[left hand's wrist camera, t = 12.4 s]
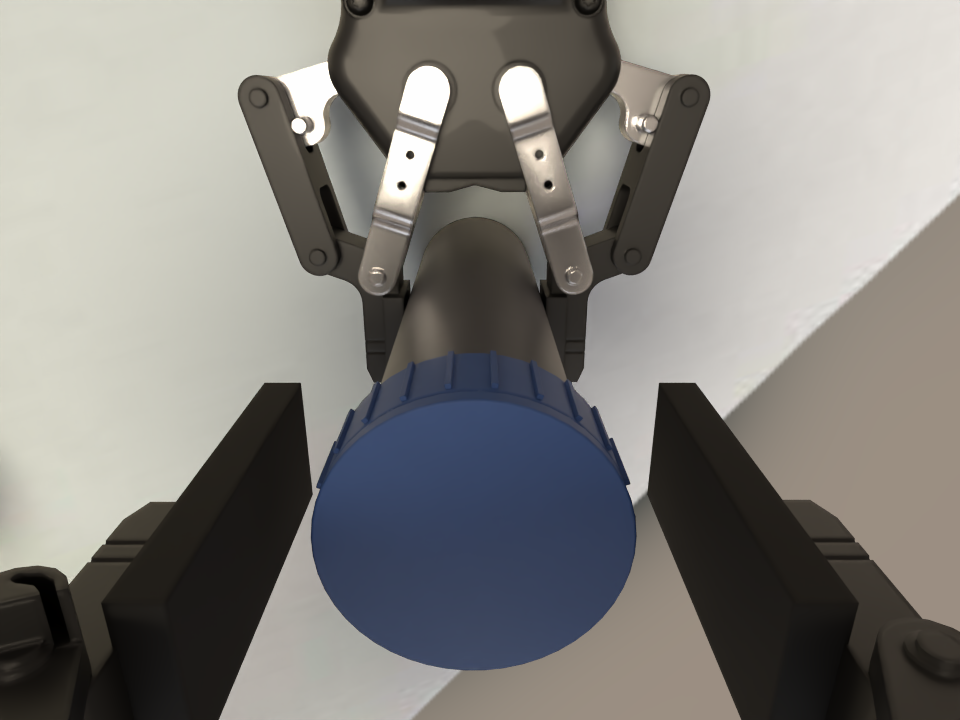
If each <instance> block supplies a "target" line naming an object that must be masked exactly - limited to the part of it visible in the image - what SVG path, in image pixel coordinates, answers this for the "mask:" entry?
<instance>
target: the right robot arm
mask: <svg viewBox="0 0 960 720" xmlns="http://www.w3.org/2000/svg"><path fill="white" fill-rule="evenodd" d="M609 95H612V96H613V97H614V98H615V99H616V100H617V102H618V104H619V107H620V118H619V129H620V132H621V134H622V135H623V136H624V137H625V138H626V139H627V140H629V141H631V142H632V145H631V148H630V151H629V154H628V157H627V160H626V163H625V166H624V169H623V172H622V174H621V177H620V180H619V183H618V186H617V189H616V192H615V195H614V198H613V201H612V204H611V207H610V210H609V213H608V216H607V219H606V222H605V225H604V228H603V231H600V232H597V233H595V234H592V235H589V236H586V237H583V234H582V231H581V227H580V223H579V219H578V212H577V208H576V204H575V200H574V197H573V193H572V190H571V186H570V183H569V179H568V176H567V172H566V168H565V165H564V161H563V157H564V156H565V155H566V153H567V152H568V151H569V149H570V148H571V147H572V145H573V144H574V142H575V141H576V140H577V138H578V137H579V136H580V134H581V133H582V132H583V130H584V129H585V128H586V126H587V125H588V123H589V122H590V121H591V119H592V118H593V117H594V115H595V114H596V113H597V111H598V110H599V108H600V107H601V106H602V104H603V103H604V102H605V100H606V99H607V98H608V96H609ZM338 96H340V97H341V99H342V100H343V101H344V103H345V104H346V105H347V107H348V108H349V109H350V111H351V112H352V113H353V115H354V116H355V117H356V119H357V120H358V121H359V123H360V124H361V125H362V127H363V128H364V129H365V131H366V132H367V133H368V135H369V136H370V137H371V138H372V140H373V141H374V142H375V144H376V145H377V146H378V148H379V149H380V150H381V152H382V153H383V154H384V156H385V157H386V158H387V161H386V165H385V169H384V173H383V176H382V180H381V184H380V188H379V191H378V195H377V199H376V202H375V206H374V210H373V216H372V223H371V227H370V231H369V235H368V238H364V237H362V236H359V235H356V234H353V233H350V232H348V229H347V226H346V223H345V221H344V218H343V215H342V212H341V209H340V206H339V203H338V201H337V198H336V195H335V192H334V189H333V186H332V183H331V181H330V178H329V175H328V172H327V169H326V166H325V164H324V161H323V158H322V155H321V152H320V149H319V146H318V144H317V143H320V142H322V141H323V140H325V139H326V138H327V136H328V134H329V132H330V128H331V122H330V117H329V110H330V106H331V104H332V102H333V100H334V99H335V98H336V97H338ZM709 100H710V89H709V86H708V84H707V82H706V81H705V80H704V79H703V78H702V77H700V76H697V75H692V74H691V75H688V74H679V75H669V74H666V73H662V72H659V71H656V70H652V69H649V68H646V67H642V66H639V65H636V64H633V63H629V62H626V61H623V60H621V56H620V51H619V47H618V45H617V43H616V41H615V38H614V36H613V34H612V32H611V28H610V25H609V21H608V16H607V0H341V17H340V22H339V27H338V30H337V33H336V36H335V38H334V40H333V42H332V44H331V47H330V50H329V54H328V61H327V62H324V63H321V64H317V65H314V66H311V67H308V68H304V69H301V70H298V71H295V72H292V73H288V74H285V75H282V76H279V77H272V76H261V75H253V76H250V77H248V78H246V79H245V80H244V81H243V82H242V83H241V85H240V87H239V90H238V101H239V104H240V107H241V109H242V112H243V115H244V117H245V120H246V122H247V125H248V128H249V130H250V133H251V135H252V138H253V141H254V143H255V146H256V148H257V151H258V154H259V156H260V159H261V162H262V164H263V167H264V169H265V172H266V175H267V177H268V180H269V182H270V185H271V188H272V190H273V193H274V196H275V198H276V201H277V203H278V206H279V209H280V211H281V214H282V216H283V219H284V222H285V224H286V227H287V229H288V232H289V235H290V237H291V240H292V243H293V245H294V248H295V250H296V253H297V256H298V258H299V261H300V263H301V265H302V267H303V268H304V269H305V270H306V271H307V272H309V273H310V274H313V275H316V276H323V275H327V274H328V275H331V276H333V277H336V278H339V279H342V280H345V281H347V282H349V283H351V284H352V285H354V286H355V287H356V288H357V290H358V291H359V293H360V295H361V297H362V302H363V315H364V329H365V340H366V342H365V344H366V358H367V369H368V371H369V373H370V375H371V377H372V379H373V381H374V382H377V381H378V382H382V379H383V376H384V373H385V370H386V367H387V364H388V361H389V358H390V355H391V352H392V349H393V346H394V343H395V340H396V337H397V334H398V331H399V328H400V324H401V321H402V318H403V315H404V312H405V309H406V306H407V303H408V300H409V297H410V280H403V265H404V261H405V258H406V255H407V251H408V248H409V244H410V241H411V238H412V234H413V231H414V227H415V224H416V221H417V217H418V214H419V211H420V208H421V205H422V202H423V198H424V195H425V192H451V191H455V190H459V189H462V188H466V187H469V186H473V185H477V186H481V187H485V188H489V189H492V190H496V191H500V192H526V195H527V198H528V201H529V205H530V208H531V211H532V214H533V217H534V220H535V223H536V226H537V229H538V233H539V236H540V239H541V242H542V246H543V249H544V252H545V255H546V259H547V280H540V296H541V299H542V302H543V306H544V309H545V312H546V315H547V318H548V321H549V324H550V328H551V331H552V334H553V337H554V340H555V343H556V347H557V350H558V353H559V356H560V359H561V362H562V365H563V369H564V372H565V375H566V378H567V379H568V380H569V381H571V382H577V381H578V379H579V377H580V375H581V373H582V371H583V369H584V354H585V353H584V351H585V336H586V318H587V301H588V296H589V294H590V292H591V290H592V289H593V287H594V286H595V285H596V284H598V283H599V282H601V281H603V280H605V279H608V278H611V277H613V276H616V275H619V274H622V273H623V274H626V275H636V274H639V273H641V272H643V271H644V270H645V269H646V268H647V267H648V265H649V264H650V262H651V259H652V256H653V254H654V251H655V248H656V245H657V243H658V240H659V237H660V234H661V232H662V229H663V226H664V224H665V221H666V218H667V215H668V213H669V210H670V207H671V205H672V202H673V199H674V196H675V194H676V191H677V188H678V185H679V183H680V180H681V177H682V175H683V172H684V169H685V166H686V164H687V161H688V158H689V156H690V153H691V150H692V147H693V145H694V142H695V139H696V136H697V134H698V131H699V128H700V126H701V123H702V120H703V117H704V115H705V112H706V109H707V107H708V104H709Z"/></svg>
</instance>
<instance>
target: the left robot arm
mask: <svg viewBox="0 0 960 720" xmlns="http://www.w3.org/2000/svg"><path fill="white" fill-rule="evenodd" d="M312 495H313V493H312V483H311V474H310V465H309V455H308V446H307V436H306V427H305V418H304V408H303V399H302V389H301V383H264V384H263V386H262V387H261V388H260V390H259V391H258V393H257V394H256V395H255V397H254V398H253V399H252V401H251V402H250V403H249V405H248V406H247V407H246V409H245V410H244V411H243V413H242V414H241V415H240V417H239V418H238V419H237V421H236V422H235V423H234V425H233V426H232V427H231V429H230V430H229V431H228V433H227V434H226V436H225V437H224V438H223V440H222V441H221V442H220V444H219V445H218V446H217V448H216V449H215V450H214V452H213V453H212V454H211V456H210V457H209V458H208V460H207V461H206V462H205V464H204V465H203V466H202V468H201V469H200V470H199V472H198V473H197V474H196V476H195V477H194V478H193V480H192V481H191V483H190V484H189V485H188V487H187V488H186V489H185V491H184V492H183V493H182V495H181V496H180V497H179V499H178V500H177V501H176V502H150V503H148V504H147V505H145V506H144V507H142V508H141V509H139V510H138V511H136V512H135V513H133V514H131V515H130V516H128V517H127V518H125V519H124V520H123V521H122V522H121V523H120V524H119V526H118V527H117V528H116V529H115V530H114V532H113V533H112V534H111V535H110V536H109V538H108V539H107V540H106V544H105V545H102V546H101V547H100V548H99V550H98V551H97V552H96V553H95V554H94V555H93V557H92V558H91V559H92V560H91V562H88V563H87V564H86V565H85V566H84V567H83V569H82V570H81V571H80V572H79V573H78V575H77V576H76V577H75V578H74V579H73V581H72V582H71V583H70V584H68V580H67V577H66V576H65V575H64V574H63V573H61V572H60V571H59V570H57V569H56V568H50V567H44V566H30V567H21V568H14V569H11V570H8V571H4V572H1V573H0V720H219V718H220V715H221V713H222V710H223V708H224V706H225V703H226V701H227V698H228V696H229V694H230V691H231V689H232V686H233V684H234V682H235V679H236V677H237V675H238V672H239V670H240V667H241V665H242V663H243V660H244V658H245V655H246V653H247V651H248V648H249V646H250V643H251V641H252V639H253V636H254V634H255V631H256V629H257V627H258V624H259V622H260V619H261V617H262V615H263V612H264V610H265V607H266V605H267V603H268V600H269V598H270V595H271V593H272V591H273V588H274V586H275V583H276V581H277V579H278V576H279V574H280V572H281V569H282V567H283V564H284V562H285V560H286V557H287V555H288V552H289V550H290V548H291V545H292V543H293V540H294V538H295V536H296V533H297V531H298V528H299V526H300V524H301V521H302V519H303V516H304V514H305V512H306V509H307V507H308V504H309V502H310V500H311V497H312ZM647 495H648V497H649V500H650V502H651V504H652V507H653V509H654V512H655V514H656V516H657V519H658V521H659V524H660V526H661V528H662V531H663V533H664V536H665V538H666V540H667V543H668V545H669V548H670V550H671V552H672V555H673V557H674V560H675V562H676V564H677V567H678V569H679V572H680V574H681V576H682V579H683V581H684V583H685V586H686V588H687V591H688V593H689V595H690V598H691V600H692V603H693V605H694V607H695V610H696V612H697V615H698V617H699V619H700V622H701V624H702V627H703V629H704V631H705V634H706V636H707V639H708V641H709V643H710V646H711V648H712V651H713V653H714V655H715V658H716V660H717V662H718V665H719V667H720V670H721V672H722V674H723V677H724V679H725V682H726V684H727V686H728V689H729V691H730V694H731V696H732V698H733V701H734V703H735V706H736V708H737V710H738V713H739V715H740V718H741V720H960V632H959V631H957V630H955V629H954V628H951V627H948V626H945V625H942V624H939V623H937V622H934V621H931V620H926V619H922V618H921V617H920V615H919V614H918V613H917V612H916V611H915V610H914V608H913V607H912V606H911V605H910V604H909V602H908V601H907V600H906V599H905V598H904V596H903V595H902V594H901V593H900V592H899V591H898V589H897V588H896V587H895V586H894V585H893V583H892V582H891V581H890V580H889V579H888V577H887V576H886V575H885V574H884V573H883V572H882V570H881V569H880V568H879V567H878V566H877V564H876V563H875V562H874V561H873V560H870V559H869V555H868V554H867V553H866V551H865V550H864V549H863V548H862V547H861V545H860V544H859V543H855V538H854V537H853V536H852V535H851V534H850V532H849V531H848V530H847V529H846V528H845V526H844V525H843V524H842V523H841V522H840V521H839V519H838V518H837V517H835V516H834V515H832V514H831V513H829V512H828V511H826V510H825V509H823V508H822V507H820V506H818V505H817V504H815V503H814V502H812V501H811V500H782V499H781V497H780V496H779V495H778V493H777V492H776V491H775V489H774V488H773V487H772V485H771V484H770V483H769V481H768V480H767V478H766V477H765V476H764V474H763V473H762V472H761V470H760V469H759V468H758V466H757V465H756V464H755V462H754V461H753V460H752V458H751V457H750V456H749V454H748V453H747V452H746V450H745V449H744V448H743V446H742V445H741V444H740V442H739V441H738V440H737V438H736V437H735V436H734V434H733V433H732V431H731V430H730V429H729V427H728V426H727V425H726V423H725V422H724V421H723V419H722V418H721V417H720V415H719V414H718V413H717V411H716V410H715V409H714V407H713V406H712V405H711V403H710V402H709V401H708V399H707V398H706V397H705V395H704V394H703V393H702V391H701V390H700V388H699V387H698V386H697V384H696V383H659V389H658V399H657V408H656V418H655V427H654V436H653V446H652V455H651V465H650V474H649V483H648V493H647Z"/></svg>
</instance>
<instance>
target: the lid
mask: <svg viewBox="0 0 960 720" xmlns="http://www.w3.org/2000/svg"><path fill="white" fill-rule="evenodd" d="M629 484H630V481H629V478H628V476H627V473H626V471H625V468H624V466H623V463H622V461H621V458H620V456H619V453H618V451H617V448H616V446H615V443H614V441H613V438H610V439H609V438H608V435H607V432H606V430H605V427H604V425H603V422H602V419H601V417H600V414H599V412H598V409H597V408H596V407H595V406H594V407H592V408H591V407H590V406H589V405H588V403H587V402H586V401H585V400H584V399H583V398H582V397H581V396H580V395H579V394H578V393H577V392H576V391H575V390H574V388H573V385H572V382H571V381H569V380H568V379H567V380H566V381H565V382H564V381H562V380H561V379H560V378H558V377H557V376H555V375H553V374H552V373H550V372H548V371H546V370H544V369H542V368H541V367H538V365H537V362H536V361H533V360H531V362H530V363H528V362H525V361H523V360H519V359H515V358H511V357H507V356H503V355H497V354H496V351H492V350H491V351H490V354H486V353H462V354H454V351H448V355H446V356H441V357H437V358H433V359H429V360H425V361H423V362H420V363H418V364H414V362H413V361H412V362H410V363H408V365H407V368H406V369H404V370H402V371H400V372H398V373H397V374H395V375H393V376H391V377H390V378H388V379H387V380H386V381H384V382H383V383H382V384H380V383H379V382H378V381H377V382H376V383H375V384H374V385H373V388H372V391H371V393H370V394H369V395H368V396H367V397H366V398H365V399H364V400H363V401H362V402H361V404H360V405H359V406H358V407H357V409H356V410H355V411H354V410H352V409H350V411H349V412H348V415H347V417H346V420H345V422H344V425H343V427H342V429H341V432H340V434H339V437H338V439H337V442H336V441H334V444H333V446H332V449H331V451H330V454H329V456H328V458H327V461H326V463H325V466H324V468H323V471H322V473H321V476H320V478H319V480H318V483H317V486H316V488H319V489H320V491H319V494H318V496H317V499H316V502H315V506H314V511H313V516H312V524H311V543H312V552H313V558H314V561H315V565H316V569H317V572H318V575H319V577H320V580H321V582H322V584H323V586H324V589H325V591H326V592H327V594H328V595H329V597H330V599H331V600H332V602H333V603H334V605H335V606H336V607H337V609H338V610H339V611H340V612H341V613H342V615H343V616H344V617H345V618H346V619H347V620H348V621H349V622H350V623H351V624H352V625H353V626H354V627H355V628H356V629H357V630H358V631H360V632H361V633H362V634H364V635H365V636H366V637H368V638H369V639H371V640H372V641H373V642H375V643H376V644H378V645H380V646H382V647H384V648H385V649H387V650H389V651H391V652H393V653H395V654H398V655H400V656H402V657H405V658H407V659H410V660H413V661H416V662H419V663H423V664H426V665H431V666H436V667H441V668H446V669H457V670H491V669H500V668H507V667H512V666H516V665H521V664H525V663H528V662H531V661H534V660H537V659H540V658H543V657H545V656H547V655H550V654H552V653H554V652H556V651H559V650H560V649H562V648H564V647H565V646H567V645H569V644H571V643H572V642H574V641H576V640H577V639H578V638H579V637H581V636H582V635H584V634H585V633H586V632H587V631H589V630H590V629H591V628H592V627H593V626H594V625H595V624H596V623H597V622H598V621H599V620H601V619H602V618H603V616H604V615H605V614H606V613H607V611H608V610H609V609H610V608H611V606H612V605H613V604H614V603H615V601H616V599H617V597H618V596H619V594H620V593H621V591H622V589H623V587H624V585H625V583H626V580H627V578H628V576H629V573H630V570H631V566H632V562H633V559H634V555H635V546H636V520H635V514H634V510H633V505H632V501H631V498H630V495H629V493H628V490H627V488H626V485H629Z"/></svg>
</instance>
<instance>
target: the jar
mask: <svg viewBox="0 0 960 720" xmlns="http://www.w3.org/2000/svg"><path fill="white" fill-rule="evenodd" d="M491 350H492V351H496V354H497V355H503V356H507V357H511V358H515V359H519V360H523V361H525V362H528V363H530V362H531V360H533V361H536V362H537V365H538V367H541V368H542V369H544V370H546V371H548V372H550V373H552V374H553V375H555V376H557V377H558V378H560V379H561V380H562V381H564V382H565V381H566V380H567V378H566V375H565V372H564V369H563V365H562V362H561V359H560V356H559V353H558V350H557V347H556V343H555V340H554V337H553V334H552V331H551V328H550V324H549V321H548V318H547V315H546V312H545V309H544V306H543V302H542V299H541V296H540V293H539V290H538V287H537V284H536V280H535V277H534V274H533V271H532V268H531V265H530V261H529V258H528V255H527V253H526V250H525V248H524V246H523V244H522V242H521V241H520V240H519V238H518V237H517V236H516V235H515V234H514V233H513V232H512V231H511V230H510V229H509V228H507V227H506V226H504V225H502V224H501V223H499V222H496V221H494V220H490V219H486V218H479V217H474V218H464V219H461V220H457V221H455V222H452V223H450V224H448V225H447V226H445V227H444V228H442V229H441V230H440V231H439V232H438V233H437V234H436V235H435V236H434V237H433V238H432V240H431V241H430V242H429V244H428V246H427V248H426V250H425V252H424V255H423V258H422V261H421V264H420V267H419V270H418V273H417V276H416V279H415V282H414V285H413V288H412V291H411V294H410V297H409V300H408V303H407V306H406V309H405V312H404V315H403V318H402V321H401V324H400V328H399V331H398V334H397V337H396V340H395V343H394V346H393V349H392V352H391V355H390V358H389V361H388V364H387V367H386V370H385V373H384V376H383V379H382V382H381V384H382V383H383V382H384V381H386V380H387V379H388V378H390V377H391V376H393V375H395V374H397V373H398V372H400V371H402V370H404V369H406V368H407V365H408V363H410V362H412V361H413V362H414V364H418V363H420V362H423V361H425V360H429V359H433V358H437V357H441V356H446V355H448V351H454V354H462V353H486V354H490V351H491Z"/></svg>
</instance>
